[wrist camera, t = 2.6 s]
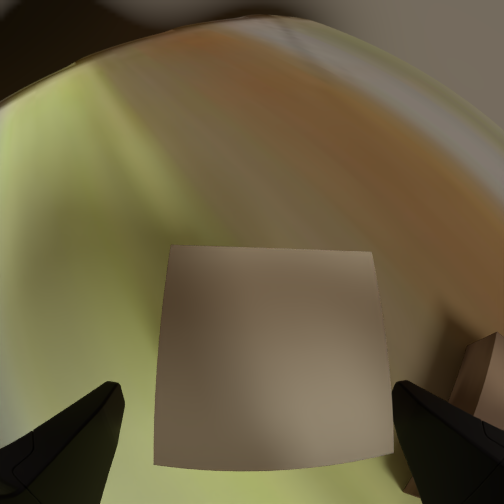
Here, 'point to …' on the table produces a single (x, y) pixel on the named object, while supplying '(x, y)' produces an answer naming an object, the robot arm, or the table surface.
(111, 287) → the table surface
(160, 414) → the birch block
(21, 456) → the robot arm
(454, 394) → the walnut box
